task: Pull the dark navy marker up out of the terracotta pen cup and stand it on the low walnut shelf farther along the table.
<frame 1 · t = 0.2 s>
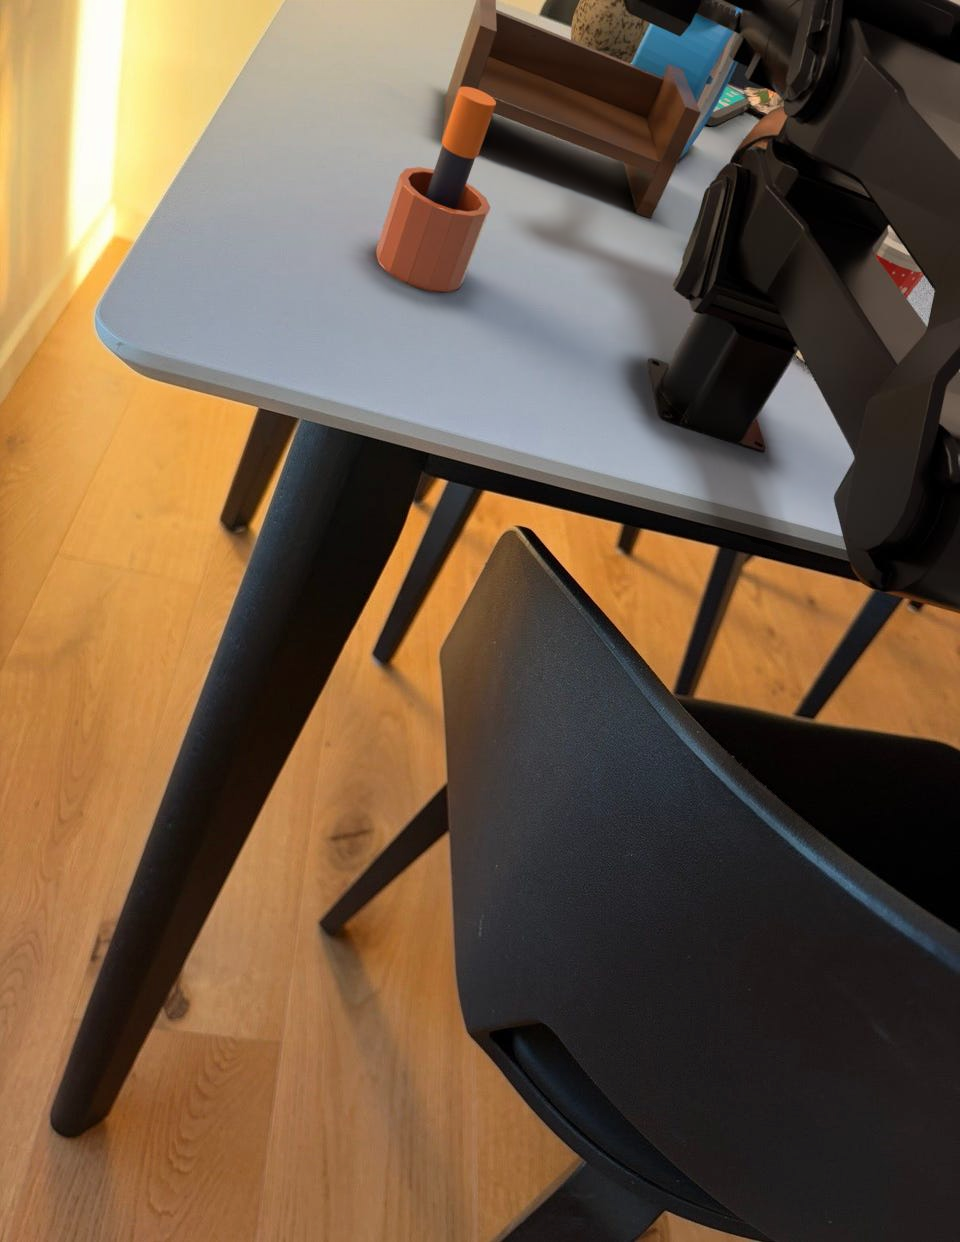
pen cup: (417, 274, 62), on the table
smartphone: (696, 100, 113), on the table, touching plant with pod
decorative egg: (591, 73, 106), on the table
sunglasses case: (776, 177, 103), on the table
shelf: (546, 155, 84), on the table
tape measure: (730, 276, 80), on the table
alarm clock: (647, 147, 95), on the table
plant with pod: (781, 122, 119), on the table, touching smartphone
beverage cup: (818, 359, 75), on the table
marker: (419, 266, 62), resting on pen cup
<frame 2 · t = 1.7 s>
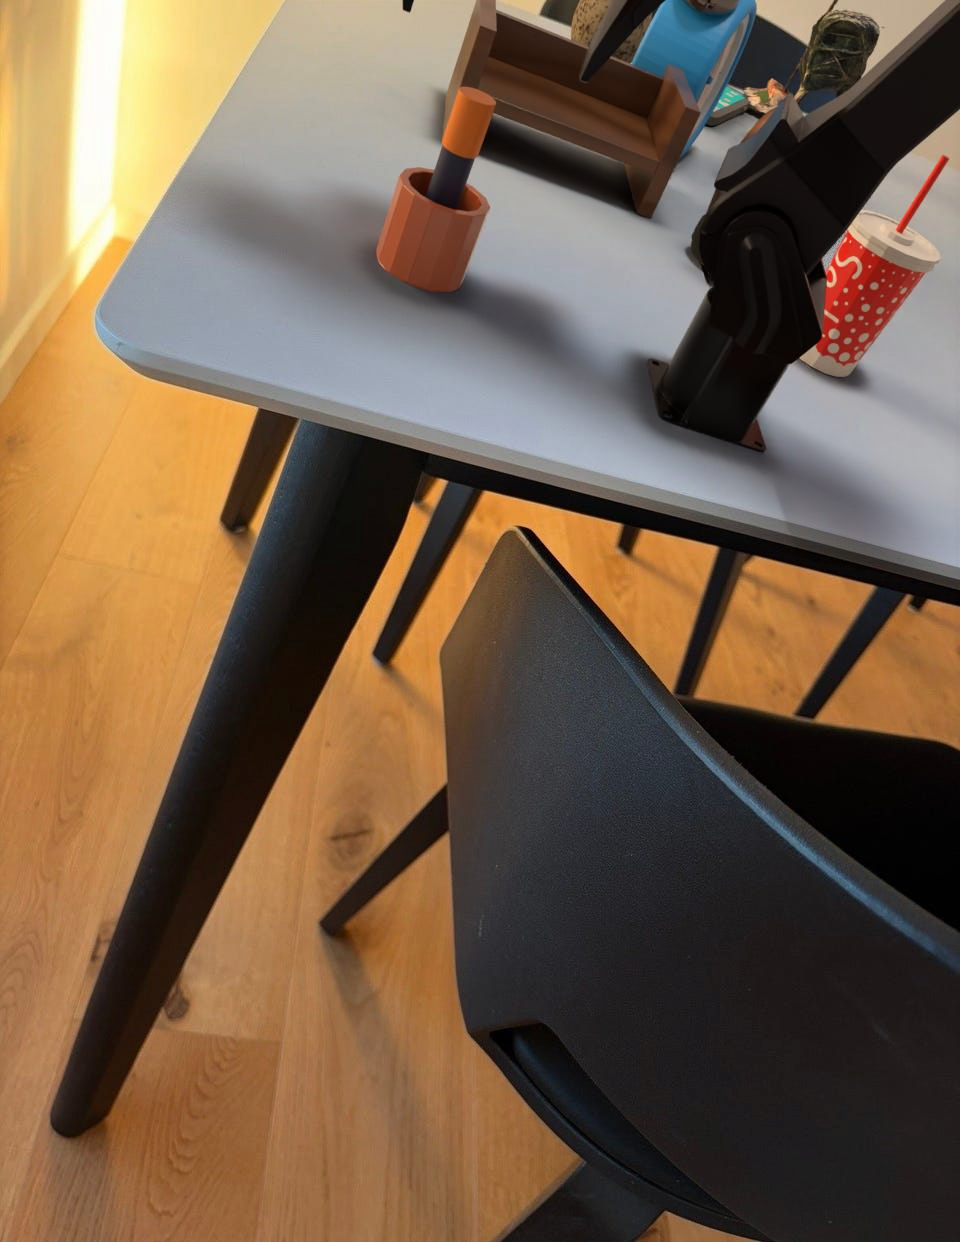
hand: (496, 45, 54), 13 cm above the table, tool pointing down, fingers open, 9 cm apart
nothing on the table moved.
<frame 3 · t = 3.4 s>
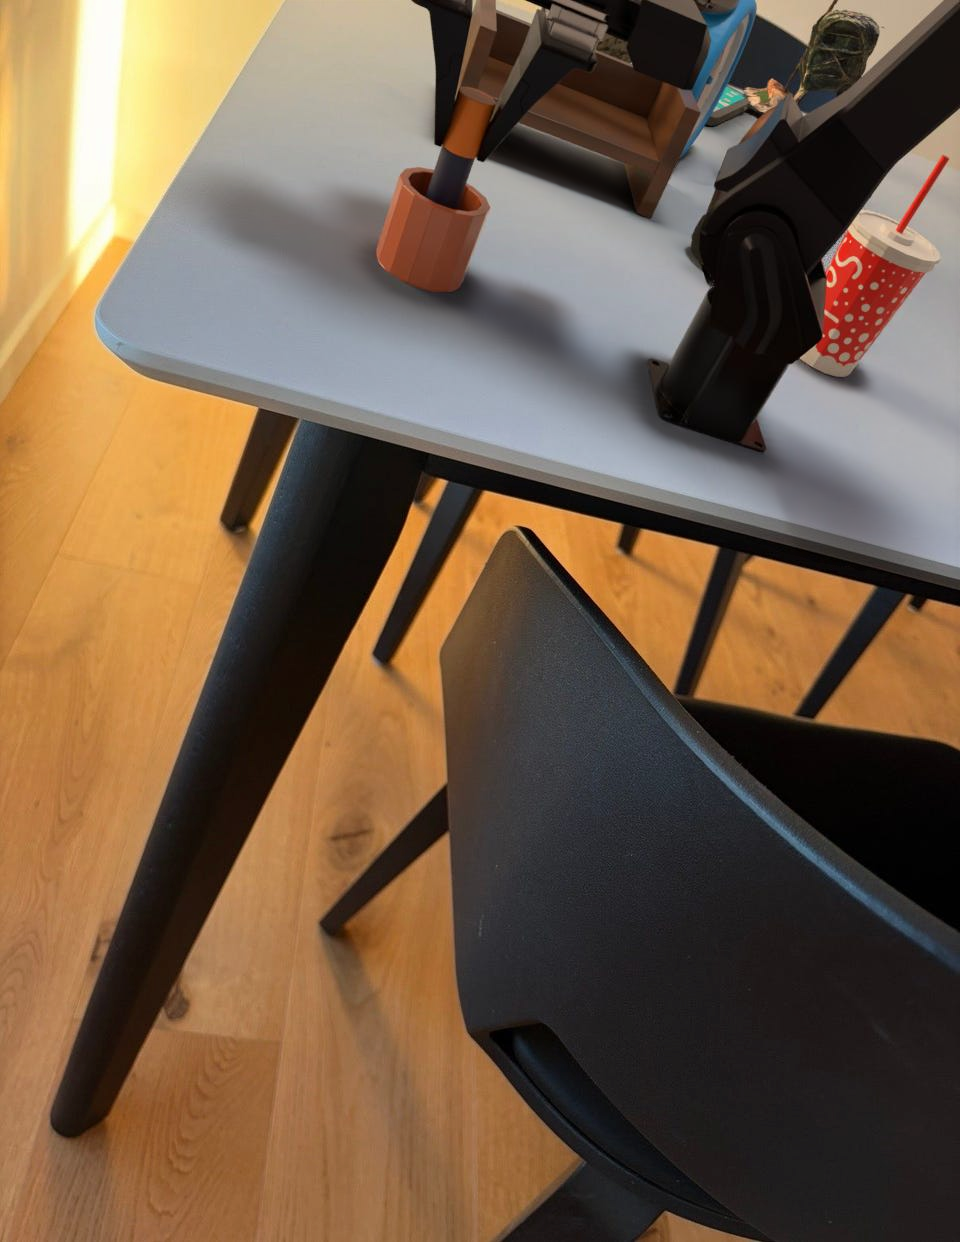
hand: (459, 151, 58), 7 cm above the table, tool pointing down, fingers closed on marker, 2 cm apart
marker: (419, 266, 62), point 1 cm above the table, touching gripper, pen cup
everything else where it was.
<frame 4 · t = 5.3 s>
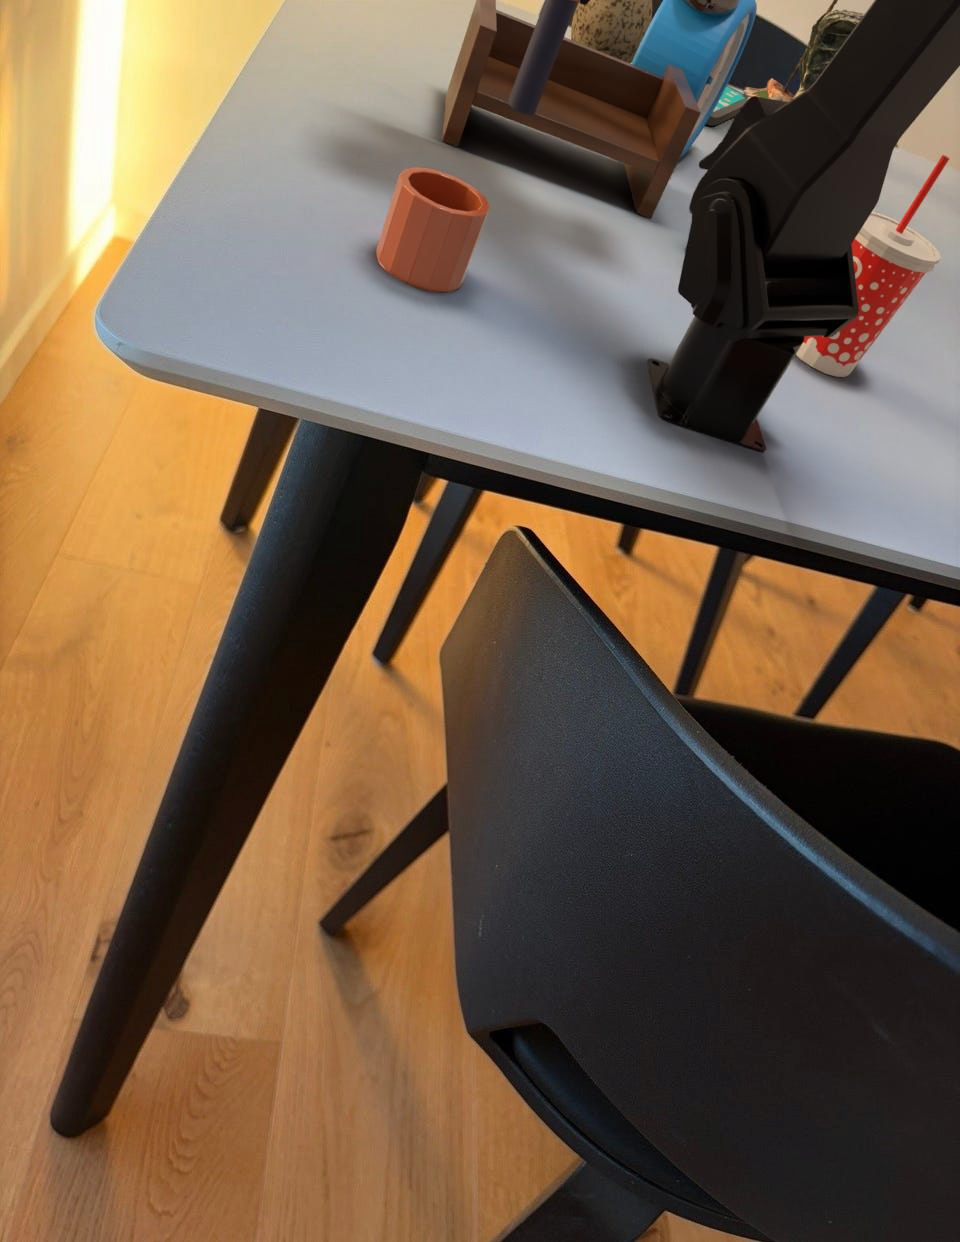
marker: (520, 108, 69), point 7 cm above the table, touching gripper
everything else where it was.
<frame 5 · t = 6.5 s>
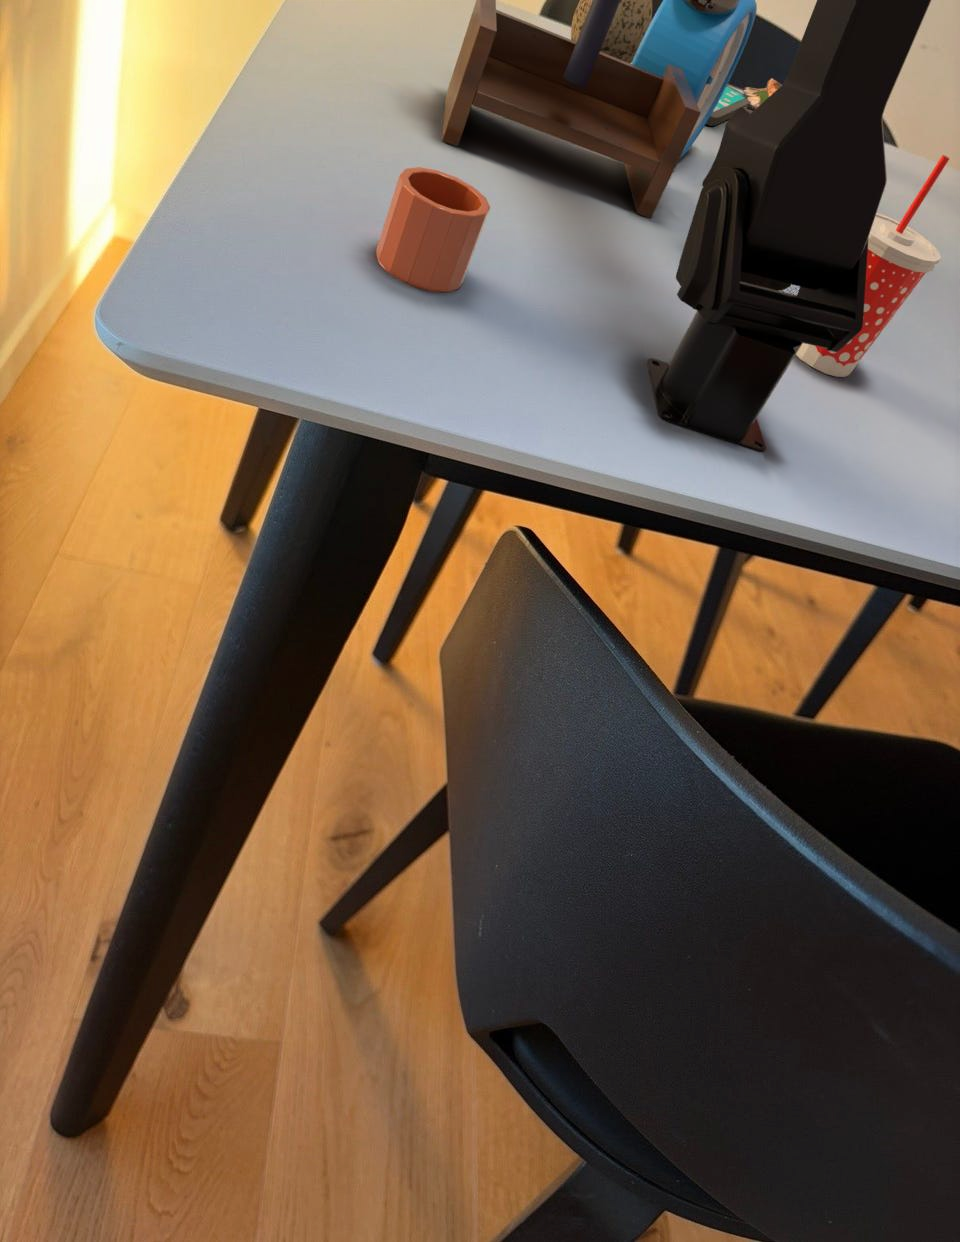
marker: (574, 81, 81), point 6 cm above the table, touching gripper
everything else where it was.
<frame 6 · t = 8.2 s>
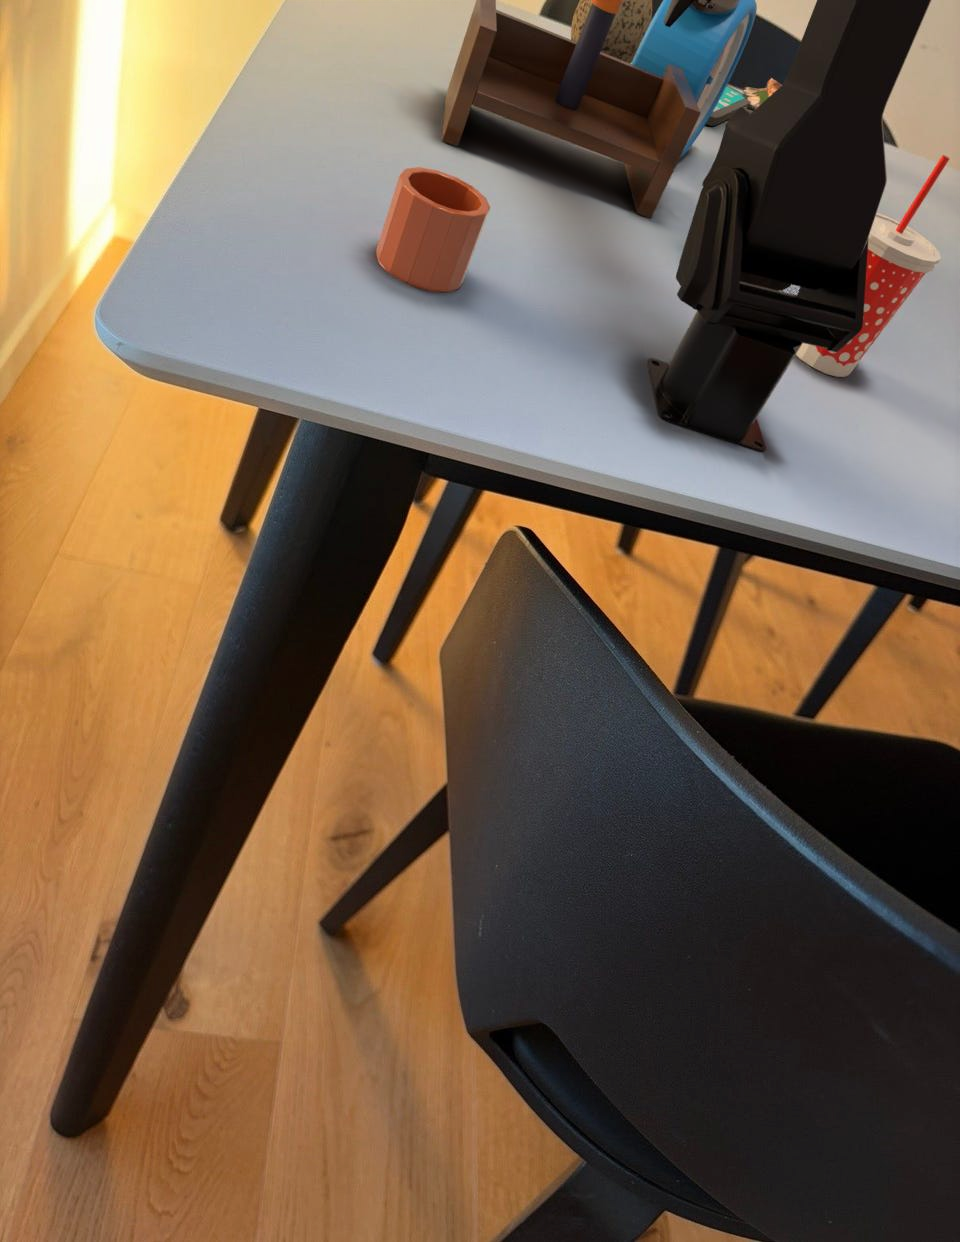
hand: (606, 0, 77), 11 cm above the table, tool pointing down, fingers open, 9 cm apart
marker: (566, 104, 82), point 4 cm above the table, touching shelf
everything else where it was.
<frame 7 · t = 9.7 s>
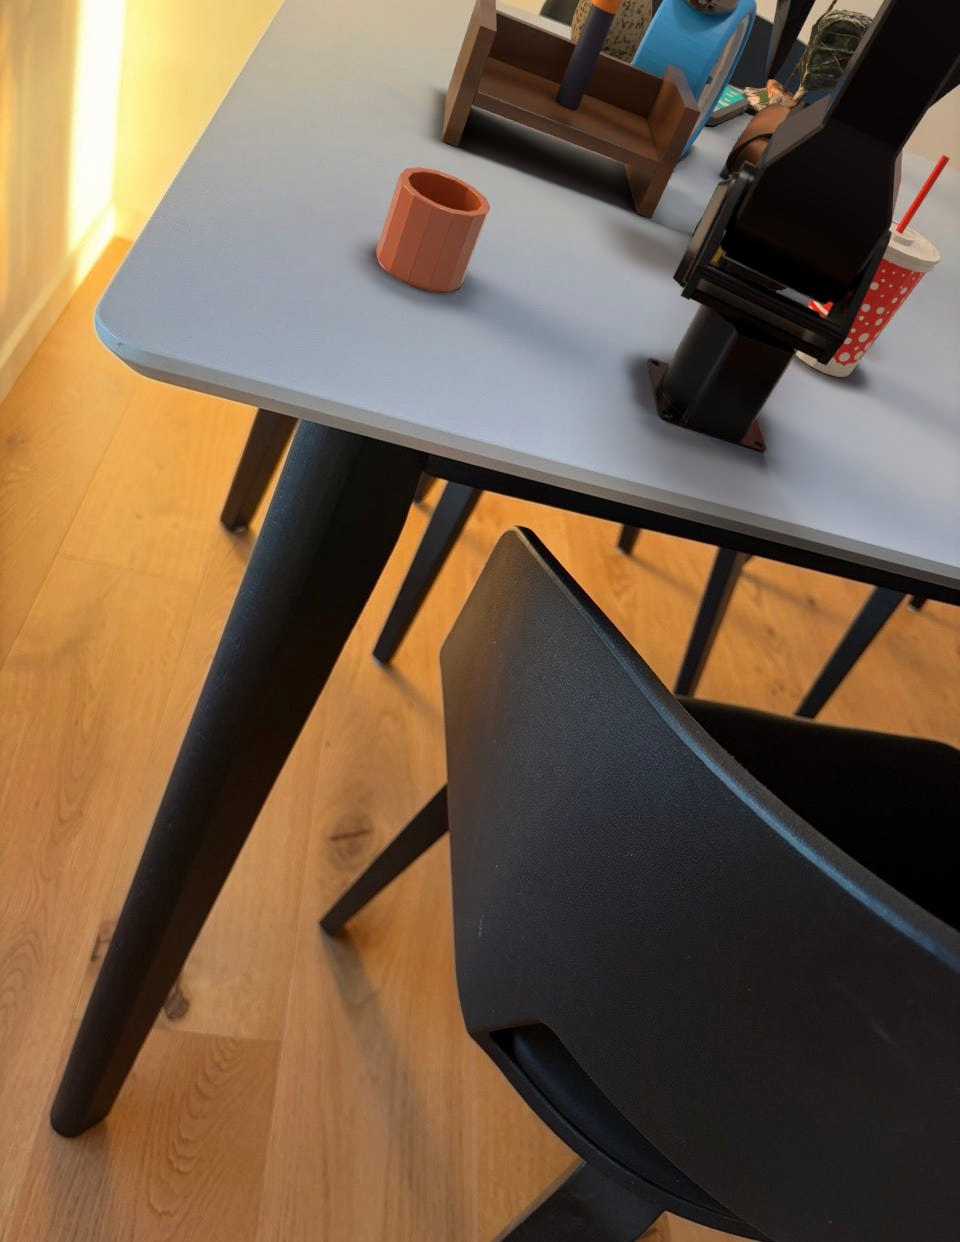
hand: (832, 103, 70), 13 cm above the table, tool pointing down, fingers open, 9 cm apart
nothing on the table moved.
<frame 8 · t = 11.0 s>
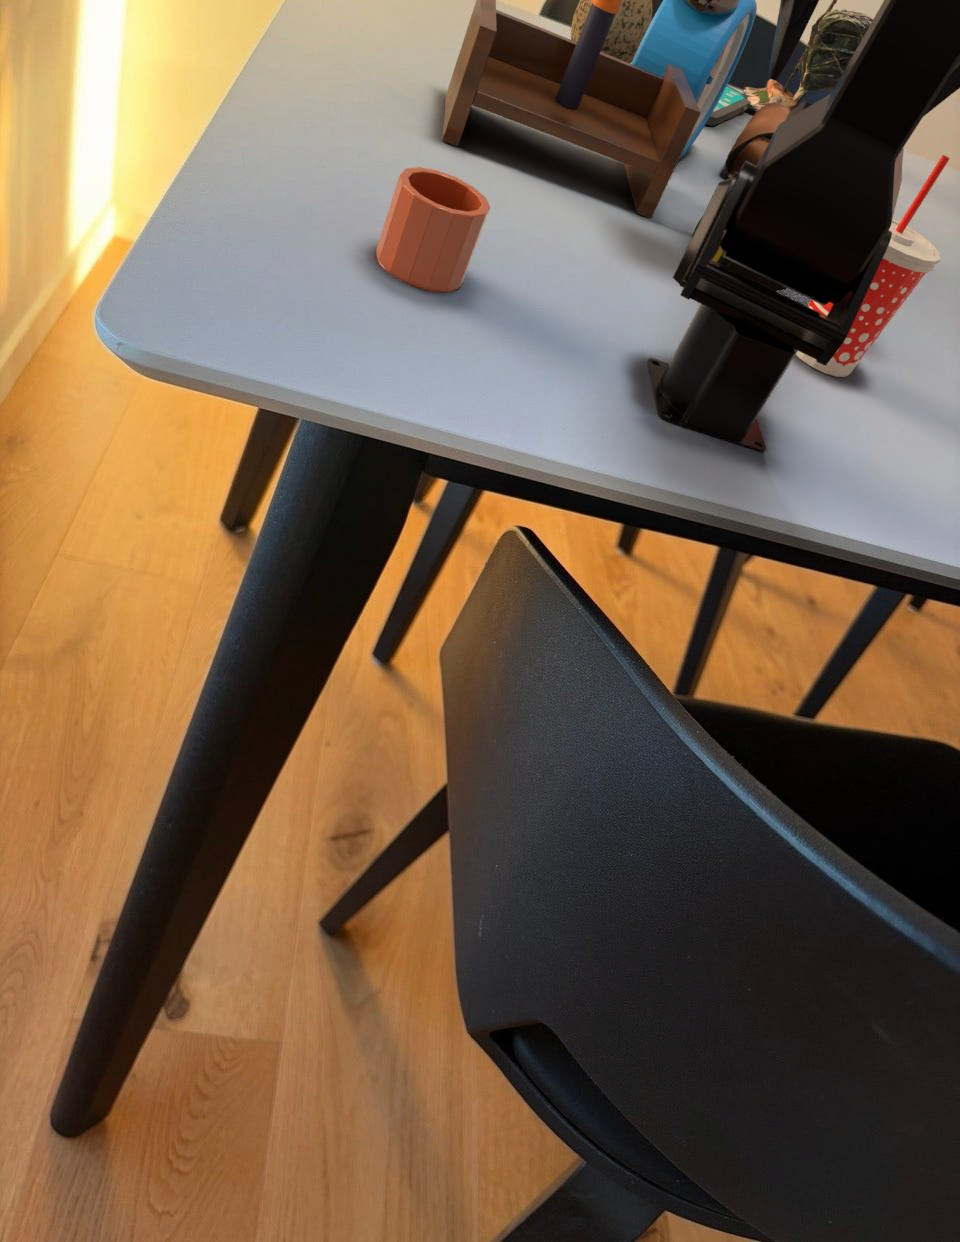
hand: (835, 104, 70), 13 cm above the table, tool pointing down, fingers open, 9 cm apart
nothing on the table moved.
at the end: marker inside the target area on the shelf (0.1 cm from its centre), point 4.0 cm above the shelf's base; the gripper is holding nothing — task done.
